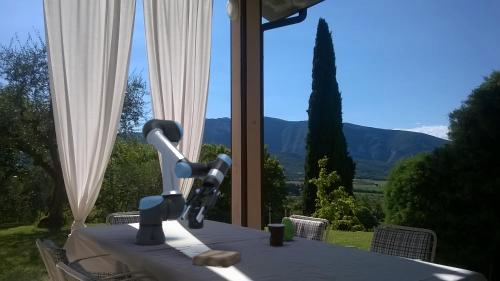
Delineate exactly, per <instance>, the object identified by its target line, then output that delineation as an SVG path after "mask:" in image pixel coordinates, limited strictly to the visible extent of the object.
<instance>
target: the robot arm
mask: <svg viewBox="0 0 500 281" xmlns="http://www.w3.org/2000/svg"><path fill="white" fill-rule="evenodd" d="M141 128H142V129H141V132H142V133H141V134H142V137H143V139H144V140H145V142H147V144H148V145H152V146H154V148H155V149H156V150H157V152H159V154H160V157H161V158H160V159H161V175H162V176H161V177H162V189H163V191H162V193H161V194H160V195H151V196H145V197H143V198H141V199H140V201H139V206H138V208H139V212H138V213H139V218H138V223H139V224H138V230H137V233H136V235H135V242H134V243H135V244H136V245H142V246H143V245H144V246H152V245H153V246H154V245H162V244H165V243H166V241H167V240H166V235H165V231H164V227H163V221H171V220H178V219H179V220H180V219H183V220H184V221H185V222H187V221H188V209H189V207H191V201H193V200H200V201H202V200H203V199H205V201H204V202H205V203H204V206H202V209H201V211H200V212H199V214H198V216H197V218H196V219H197V220H198V222H201V220H202V218H203V216H204V217H205V216H206V214H207V213H208V211H211V210H214V207H215V205H216V203H217V200H218V198H219V196H220V195H221V192H220V190H219V188H220V186H221V184H222V182H223V181H224V178H225V176H226V175H227V173H228V171H229V169H230V167H231V165H232V162H233V159H232V158H231V157H230V156H229V155H228V154H225V153H220V154H218V155H217V157H216V159H214V160H211V161H208V162H193V161H190V160H189V159H188V158H187V157H186V156H185V155H184V154H183V153H182V152H181V151H180V150H179V149H178V146H179V144H180V141H181V140H183V136H184V130H183V126H182V125H181V124H180V123H179V122H178V121H177V120H176V121H175V120H172V119H171V120H169V119H160V118H152V119H149V120H147V121H146V122H145V123H144V124H143V125H142V127H141ZM180 179H199V180H203V181H202V184H201V187H200V188H196V187H195V188H194V189H193V192H192V193H191V194H190V196H189V197H188V199H187V198H185V197H183V195H184V194H183V193H182V192H181V191H180Z"/></svg>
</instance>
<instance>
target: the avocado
mask: <svg viewBox="0 0 500 281" xmlns="http://www.w3.org/2000/svg"><path fill="white" fill-rule="evenodd" d="M281 224H283V225H285V230H284V239H283V241H287V242H289V241H291V240H293V239H294V237H295V233H296V230H295V226H294V224H293V222H292V219H291V218H289V217H284V218H283V219H282V221H281Z"/></svg>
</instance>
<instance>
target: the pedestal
mask: <svg viewBox="0 0 500 281" xmlns="http://www.w3.org/2000/svg"><path fill="white" fill-rule="evenodd" d="M241 260H242V252H239V251H228V250H227V251H226V250H214V249H212V250H211V249H209V250H206V251H203V252H201V253H199V254H196V255H194V256H192V265H195V266H208V267H216V266H222V267H221V268H227V267H228V268H230V267H231V266H233V265H235V264H236V263H238V262H239V261H241ZM234 263H235V264H234ZM232 264H233V265H232Z"/></svg>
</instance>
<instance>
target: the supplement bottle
mask: <svg viewBox="0 0 500 281" xmlns="http://www.w3.org/2000/svg"><path fill="white" fill-rule="evenodd" d="M202 205H203V204H202V200H193V201H191V207H189V209H188V219H187V221H188V223H187V224H188V225H187V228H188V229H190V230H201V229H203V228H204V225H205V219H204V218H205V216H203V218H202V220H201V222H198V220H197V219H196V218H197V216H198V214H199V212H200V211H201V209H202V207H203V206H202Z"/></svg>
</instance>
